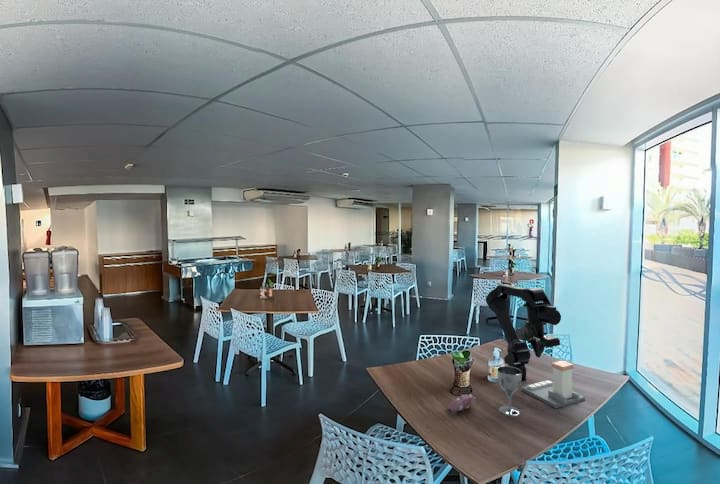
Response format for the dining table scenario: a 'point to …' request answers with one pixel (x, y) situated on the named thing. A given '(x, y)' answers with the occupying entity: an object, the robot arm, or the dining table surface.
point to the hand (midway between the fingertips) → (538, 357)
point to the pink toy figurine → (462, 402)
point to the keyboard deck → (551, 394)
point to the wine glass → (509, 386)
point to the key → (562, 378)
